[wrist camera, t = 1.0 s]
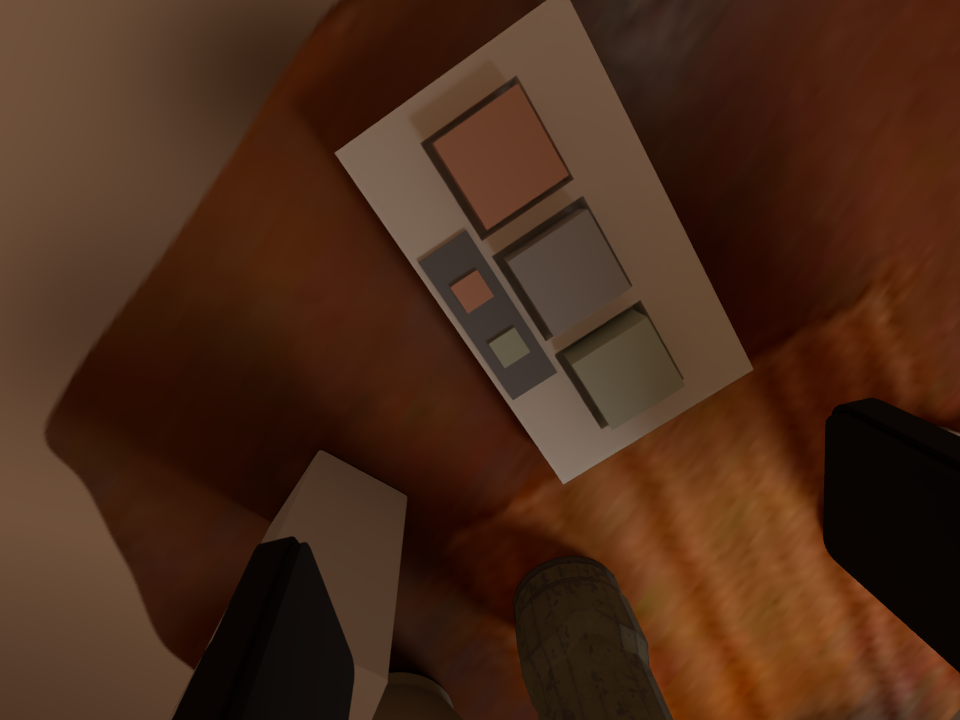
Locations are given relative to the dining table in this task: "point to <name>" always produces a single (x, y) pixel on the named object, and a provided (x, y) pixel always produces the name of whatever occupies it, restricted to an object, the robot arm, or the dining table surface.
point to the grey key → (567, 271)
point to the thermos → (583, 646)
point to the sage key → (624, 368)
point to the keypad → (590, 185)
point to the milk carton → (351, 561)
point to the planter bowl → (414, 699)
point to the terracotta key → (500, 157)
